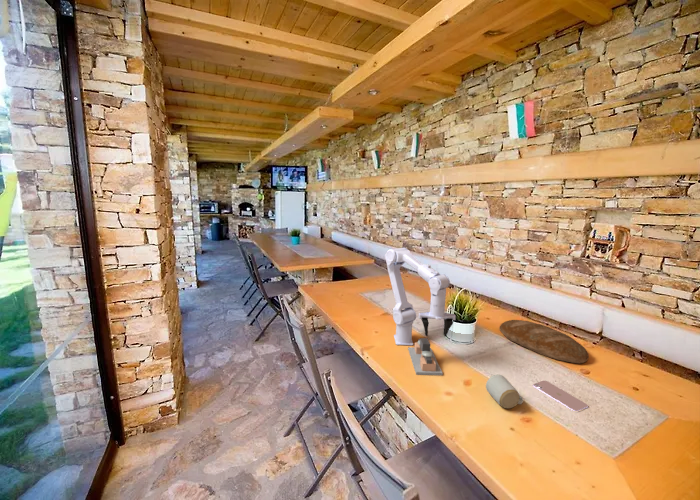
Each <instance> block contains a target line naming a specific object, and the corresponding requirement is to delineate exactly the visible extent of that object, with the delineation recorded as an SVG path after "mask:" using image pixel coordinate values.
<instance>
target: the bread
mask: <svg viewBox="0 0 700 500" xmlns="http://www.w3.org/2000/svg"><path fill="white" fill-rule="evenodd" d="M498 329H499V331H500V332H501V334H503V335H504V336H505V337H506V338H507V339H508V340H510V341H512V342H514V343H516V344H518V345H519V346H522V347H524V348H525V349H528V350H530V351H533V352H534V353H535V352H536V353H538V354H540V355H542V356H545V357H548V358H551V359H554V360H557V361H562V362H567V363H572V364H583V363H586V362H587V361H588V359H589V358H590V356H589V352H588V350H587V348H585V347H584V346H583V345H582V344H581V343H580V342H578V341H577V340H575V338H572V337H571V336H569V335H568V334H566V333H563V332H562V331H559V330H557V329H554V328H552V327H550V326H546V325H544V324H542V323H541V324H540V323H535V322H532V321H528V320H520V319H510V320H506V321H503V322H502V323H501V324H500V325H499V327H498Z"/></svg>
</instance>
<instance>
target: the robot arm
mask: <svg viewBox="0 0 700 500" xmlns="http://www.w3.org/2000/svg"><path fill="white" fill-rule="evenodd" d="M384 258H385V261H386V268H387V272H388V276H389V280H390V284H391V288H392V293H393V297H394V301H395V306H394V307H393V309H392V313H393V315H392V319H393V321H394V324H396V325H395V334H393V338H394V342H395V345H396V346H414V343H413V339H412V335H413V324H414V321H416V319H417V312H416V310H415V309H414V306H413V304H412V303H410V302H409V301H408V298H407V294H406V289H405V286H404V282H403V278H402V274H401V273H402V272H401V270H400V269H401V267H402V266H403V265H404V264H405V263H406V264H407V265H409V266H410V267H412V268H413V269H415V270H416V271H417V275H418V276H420V277H421V278H422V280H424V281H425V282H426V283H428V287H429V289H430V290H429V291H430V304H429V305H430V306H429V311H427V312H418V319H419V320H421V322H422V325H423V329H424V335H425V336H426V337H428V336H429V330H428V329H429V325H430V324H429V319H431V320H437V321H438V320H440V321H441V320H443V331H442V332H443V336H444V337H447V335H448V332H449V330H450V329H451V327H452V325H454V321H456V314H455V313H448V312H445V310H446V306H445V305H446V298H447V297H446V296H447V288H448V287H449V286H450V283H451V282H450V279H449V277H448V276H447V274H446V273H440V272H439V271H436V270H435V269H434V268H432V266H431V264H427V263H422V262H421V261H419V259H417V258H416V257H415V256H414V255H413V254H412V252H411V251H410V250H409V249H408V248H407V247H399V248H390V249H388V250H387V251H386V253H385V254H384Z"/></svg>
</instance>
